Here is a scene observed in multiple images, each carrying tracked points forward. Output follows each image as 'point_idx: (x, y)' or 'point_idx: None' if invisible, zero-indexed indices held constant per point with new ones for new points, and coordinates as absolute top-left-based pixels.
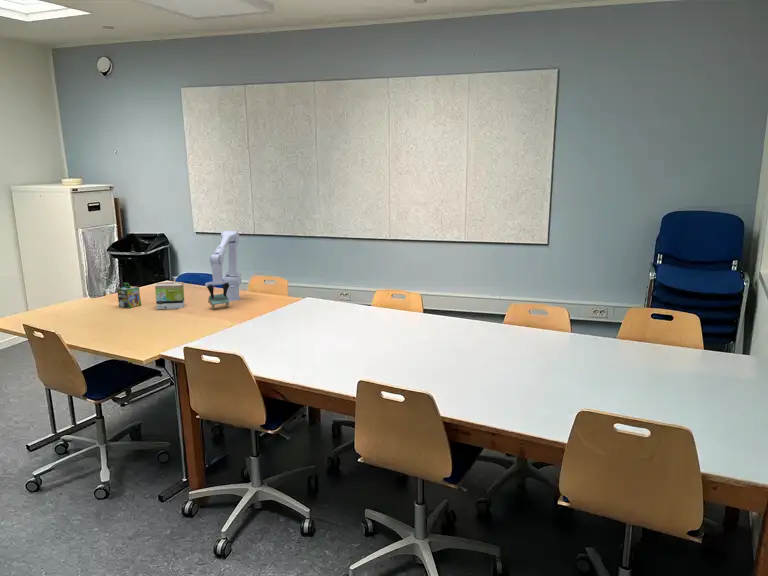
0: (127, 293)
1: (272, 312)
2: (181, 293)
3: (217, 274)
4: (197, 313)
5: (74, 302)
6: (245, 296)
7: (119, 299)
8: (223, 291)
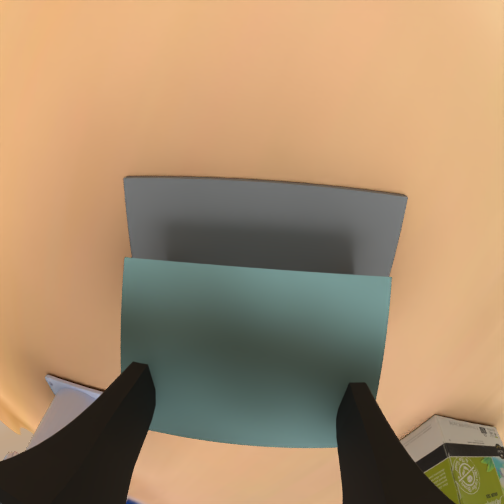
0: None
1: None
2: (461, 495)
3: None
4: (487, 259)
5: None
6: (37, 402)
7: None
8: (138, 452)
